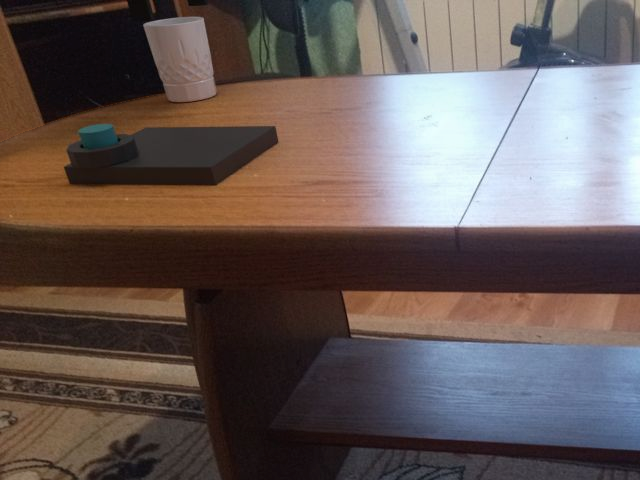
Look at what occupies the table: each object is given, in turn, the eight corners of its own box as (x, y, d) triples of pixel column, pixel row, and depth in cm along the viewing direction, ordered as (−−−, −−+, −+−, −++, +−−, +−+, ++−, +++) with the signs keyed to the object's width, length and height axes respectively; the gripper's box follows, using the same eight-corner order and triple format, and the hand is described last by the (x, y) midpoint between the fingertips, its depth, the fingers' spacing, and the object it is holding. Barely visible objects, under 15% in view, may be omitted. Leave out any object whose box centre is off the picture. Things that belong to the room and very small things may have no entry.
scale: (65, 187, 72) (52, 152, 70) (150, 144, 84) (141, 112, 82) (213, 188, 68) (203, 151, 67) (279, 143, 80) (272, 110, 79)
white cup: (169, 94, 107) (149, 20, 102) (223, 88, 108) (206, 14, 103) (159, 106, 101) (137, 27, 95) (218, 100, 102) (199, 22, 96)
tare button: (76, 150, 71) (70, 132, 70) (97, 141, 74) (91, 123, 73) (105, 150, 70) (99, 132, 69) (125, 141, 73) (120, 123, 72)
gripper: (81, -193, 77) (144, 26, 88) (203, -178, 97) (241, -2, 108) (21, -185, 78) (90, 29, 89) (153, -172, 99) (195, 1, 110)
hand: (172, 12), depth 99 cm, fingers open, 13 cm apart
